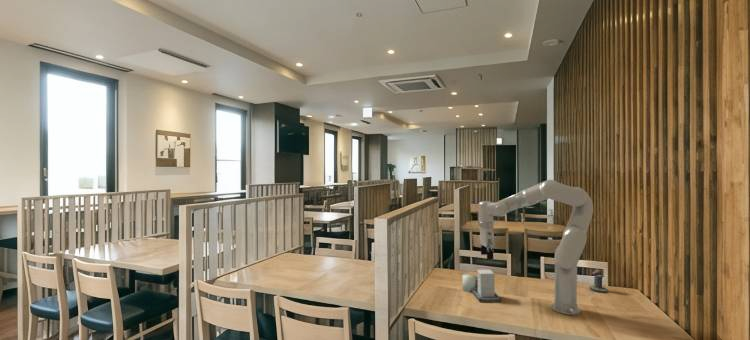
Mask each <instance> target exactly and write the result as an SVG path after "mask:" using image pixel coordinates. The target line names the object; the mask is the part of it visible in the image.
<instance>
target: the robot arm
mask: <svg viewBox="0 0 750 340" xmlns="http://www.w3.org/2000/svg"><path fill="white" fill-rule="evenodd" d="M548 199H550V200H552V201H555V202H559V203H562V204H566V205H569V206H572V210H571V213H570V216H569V220H568V221H567V224H566V226H565V228H564V229H563V232H562V237H561V240H560V242H559V245H558V246H557V247H556V248H555V250H554V302H553V303H551V305H550V307H551V309H552V310H553V311H555V312H556V313H560V314H563V315H568V316H569V315H570V316H573V315H574V316H576V315H579V314H580V313H581V308H580V307H579V306H578V302H577V301H578V299H577V297H578V263H579V260H580V258H581V256H582V254H583V252H584V248H585V247H586V243H587V240H588V239H587V233H588V232H587V231H588V229H589V227H590V223H591V221H592V217H593V213H594V204H593V203H594V202H593V200H592V198H591V197H590V195H589V194H588V193H587V192H586V190H584V188H582V187H579V186H569V185H567V184H564V183H560V182H557V181H556V180H555V179H546V180H545V181H541V182H539V183H537V184H534V185H532V186H530V187H527V188H525V189H523V190H520V191H519V192H517V193H515V194H512V195H511V196H508V197H505V198H503V199H501V200H498V201H497V202H492V201H487V200H482V201H480V202H478V204H477V205H478V206H477V207H478V209H477V210H478V228H479V243H480V255H481V256H486V259H487V260H494V248H495V245H496V244H495V234H494V227H495V226H494V224H495V223H494V216H495V217H504V216H506V215H507V214H508V213H510V212H513V211H515V210H518V209H521V208H524V207H530V206H534V205H536V204H538V203H541V202H543V201H546V200H548Z"/></svg>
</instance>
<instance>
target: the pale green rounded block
mask: <svg viewBox="0 0 750 340" xmlns="http://www.w3.org/2000/svg"><path fill="white" fill-rule="evenodd" d="M475 277H476V275H475V274H472V273H464V274H462V279H461V280H462V287H461V289H462V291H463V292H466V293H472V289H475Z"/></svg>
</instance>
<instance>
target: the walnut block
mask: <svg viewBox="0 0 750 340" xmlns="http://www.w3.org/2000/svg"><path fill="white" fill-rule="evenodd" d="M475 289H478V276H475Z"/></svg>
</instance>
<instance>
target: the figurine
mask: <svg viewBox="0 0 750 340" xmlns="http://www.w3.org/2000/svg"><path fill="white" fill-rule="evenodd" d="M591 274H592V275H593V276H594V277H593V278H594V280H593V284H591V285H590V286H588V287H589V290H590V291H591V292H594V293H598V294H606V293H607V292H608V289H607V288H606V287H603V273H602V270H600V268H599V269H598V268H597V269H595V270H594V271H592V273H591Z"/></svg>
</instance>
